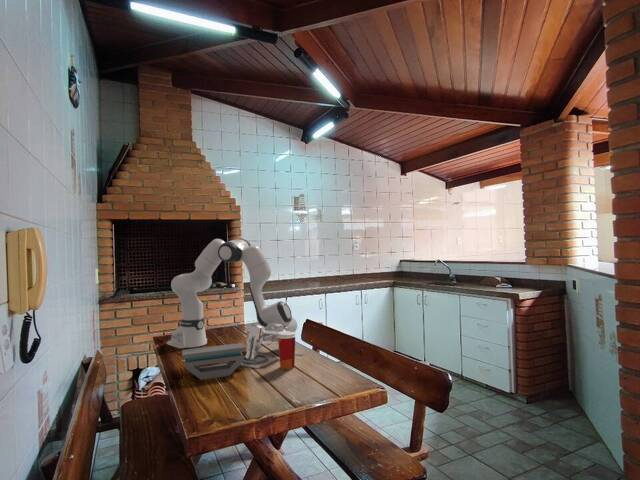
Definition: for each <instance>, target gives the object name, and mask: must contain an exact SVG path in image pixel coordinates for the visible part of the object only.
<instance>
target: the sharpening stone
mask: <svg viewBox="0 0 640 480" xmlns="http://www.w3.org/2000/svg"><path fill="white" fill-rule="evenodd" d="M246 349H247V346H246V345H245V344H244V343H242V342H238V343H237V342H236V343H230V344H228V343H227V344H222V345H213V346H204V347H193V348H188V349H186V348H185V349H181V357H182V359H183V360H184V364H185V365H184V366H185V370H187V371H188V372H190V373H191V374H192V375H194V377H196V378H197V379H199V380H200V381H203V379H204V380H210V379H216V378H222V377H230V376H231V375H232V374H233V373H234V372H235V370H237V368H238V367H240V366H241V365H240V364H241V363H242V362H243V357H244V355H243V353H242V352H247V350H246ZM219 363H220V364H219ZM204 365H206V366H204Z"/></svg>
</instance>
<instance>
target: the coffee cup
mask: <svg viewBox="0 0 640 480" xmlns="http://www.w3.org/2000/svg"><path fill="white" fill-rule="evenodd" d="M277 337H278V342H277V343H278V354H279V365H280V369H281V370H286V371H287V370H289V371H290V370H292V369H294V368H295V359H296V358H295V357H296V355H295V354H296V337H297V334H296V331H295V332H292V331H283V332H279V333H278V336H277Z"/></svg>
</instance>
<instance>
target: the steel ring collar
mask: <svg viewBox="0 0 640 480" xmlns="http://www.w3.org/2000/svg"><path fill="white" fill-rule="evenodd" d="M245 356H246V355H243V362H242V363H243V364H247V365H257V364H263V363H265V362H267V361H268V360H269V357H270V356H269V355H267V354H262V353H259V355H258V357H262V358H265V359H264V360H260V361H245V359H246V358H245Z"/></svg>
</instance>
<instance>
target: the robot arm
mask: <svg viewBox="0 0 640 480" xmlns="http://www.w3.org/2000/svg"><path fill="white" fill-rule="evenodd" d="M241 261H242V262H243V263H244V265H245V267H246V269H247V272H248V273H249V274H248V276H249V283H248V286H249V287H248V288H249V291H250V296H251V298H252V302H253V307H254V309H255V313H256V319H257V322H258V325H262V326H264V327H265V333H264V337H263V341H262V342H269V341H270V342H272V343H273V342H274V343H275V342H277V343H278V337H277V336H278V333H279V332H283V331H292V332H295V333H296V331H297V329H298V323H297V320H296V319H295V318H293V316H292V310H291V308H290V306H289V305H288V304H287V303H286V302H284V301H278V302H276V303H273V304H272V303H271V305H268V306H267V305H266V301H265V299H264V295H263V287H264V285H265V284H266V283H267V282H268V281H269V279H270V277H271V274H272V269H271V266H270V263H269V262H268V259H267V258H266V255H265V253H263V251H262V249H261V248H260V246H258V245H255V244H254V245H252V244H251V243H250V242H249V241H248V240H246V239H244V238H237V239H231V240H229V241H224V240H223V239H221V238H215V239H213V240H212V241H211V242H209V243H208V244H207V246H206V247H205V248H203V250H202V252H201V253H200V255H199V256H198V257H197V258H196V260H195V261H194V267H195V270H194V271H192V272H188V273H182V274H179V275H176V276H174V277H173V279H172V280H171V282H170V283H171V284H170V287H171V290H172V292H173V293H175V295H177V297H178V299H179V301H180V304H181V317H182V319H179V320H178V322H179V326H178V327H177V328H176V329H174V331H173V332H172V334H171V340H169V341H167V342H166V345H168V346H170V347H171V346H172V348H173V347H174V348H177V349H186V348H188V349H190V348H199V347H202V346H205V345H207V344H208V338H207V334H206V326H205V317H204V303H203V302H202V301H201V300H200V299H199V297H198V294H197V293H200V292H204V291H206V290H208V289H210V288H211V286H212V284H213V283H212V282H213V279H212V276H213V273H214V272H215V271H216V269H217V268H218V266H219V265H220V264H221V262H223V263H238V262H241ZM249 332H250V329H247V331H246V339H247V340H248V337H249Z"/></svg>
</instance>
